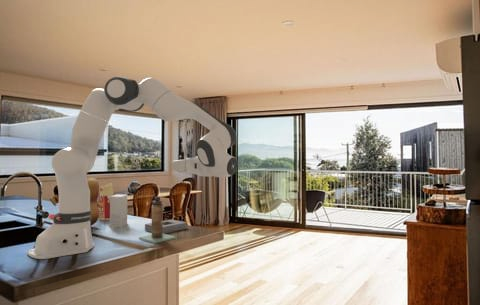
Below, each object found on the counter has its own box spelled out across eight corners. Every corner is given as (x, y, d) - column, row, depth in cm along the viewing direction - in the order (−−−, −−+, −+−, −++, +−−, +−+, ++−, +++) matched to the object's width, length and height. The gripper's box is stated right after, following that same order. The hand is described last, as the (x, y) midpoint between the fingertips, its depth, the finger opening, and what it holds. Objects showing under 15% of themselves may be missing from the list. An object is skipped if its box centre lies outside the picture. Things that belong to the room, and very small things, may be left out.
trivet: (154, 243, 142) (154, 241, 142) (138, 239, 149) (138, 237, 149) (175, 238, 150) (175, 236, 150) (160, 234, 157) (160, 232, 157)
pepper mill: (155, 238, 146) (156, 197, 146) (149, 237, 149) (149, 196, 149) (164, 236, 150) (164, 196, 150) (158, 235, 153) (158, 195, 153)
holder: (160, 234, 158) (160, 227, 158) (144, 230, 166) (144, 224, 166) (187, 228, 170) (187, 222, 170) (171, 225, 178) (171, 219, 178)
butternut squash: (97, 229, 167) (98, 178, 167) (67, 231, 163) (67, 178, 163) (100, 224, 180) (100, 176, 180) (71, 225, 176) (72, 176, 176)
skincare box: (115, 223, 181) (115, 194, 182) (128, 223, 181) (128, 194, 181) (109, 227, 173) (109, 196, 173) (122, 227, 173) (122, 196, 173)
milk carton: (112, 216, 203) (112, 182, 203) (118, 218, 196) (118, 183, 196) (96, 218, 197) (96, 183, 197) (101, 220, 190) (101, 184, 190)
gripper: (221, 157, 150) (200, 157, 159) (185, 158, 134) (163, 157, 143) (221, 172, 150) (200, 171, 159) (185, 174, 134) (163, 173, 143)
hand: (182, 164), depth 151 cm, fingers open, 8 cm apart
